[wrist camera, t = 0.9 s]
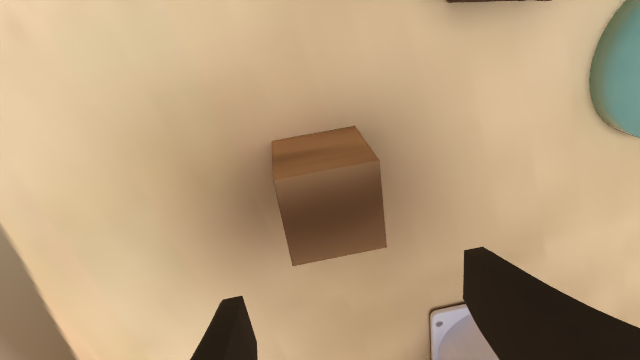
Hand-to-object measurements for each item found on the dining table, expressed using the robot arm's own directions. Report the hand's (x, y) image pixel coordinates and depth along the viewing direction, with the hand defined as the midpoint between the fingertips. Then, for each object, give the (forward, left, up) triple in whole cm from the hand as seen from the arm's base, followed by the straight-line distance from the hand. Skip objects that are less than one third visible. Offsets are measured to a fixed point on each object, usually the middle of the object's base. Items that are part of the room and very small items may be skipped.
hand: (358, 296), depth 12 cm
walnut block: (0, 0, -10) cm, 10 cm away
